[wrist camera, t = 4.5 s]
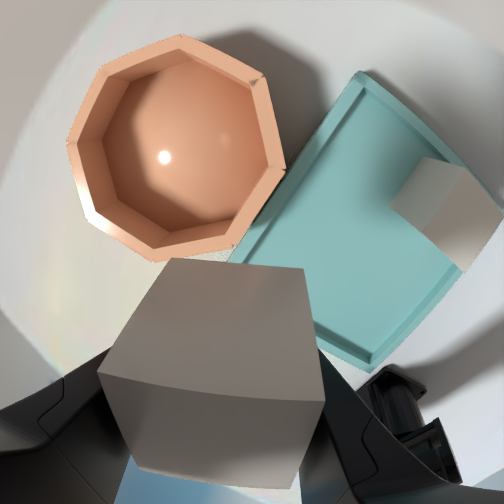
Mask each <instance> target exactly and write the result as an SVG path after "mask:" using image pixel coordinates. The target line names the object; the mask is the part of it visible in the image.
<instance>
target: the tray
mask: <svg viewBox="0 0 504 504" xmlns="http://www.w3.org/2000/svg"><path fill="white" fill-rule="evenodd" d="M423 156H424V157H428V158H432V159H436V160H440V161H443V162H447V163H451V164H454V165H458V166H461V167H465V168H466V169H467V170H468V171H469V172H470V173H471V175H472V176H473V177H474V178H475V179H476V180H477V182H478V183H479V184H480V185H481V186H482V188H483V189H484V190H485V191H486V192H487V194H488V195H489V196H490V197H491V199H492V200H493V201H494V202H495V204H496V205H497V206H498V208H499V209H500V210H501V212H502V213H503V214H504V212H503V210H502V209H501V208H500V206H499V205H498V204H497V202H496V201H495V200H494V198H493V197H492V196H491V195H490V193H489V192H488V191H487V190H486V188H485V187H484V186H483V185H482V184H481V182H480V181H479V180H478V179H477V178H476V176H475V175H474V174H473V173H472V172H471V171H470V170H469V168H468V167H467V166H466V165H465V164H464V163H463V162H462V161H461V160H460V158H459V157H458V156H457V155H456V154H455V153H454V152H453V151H452V150H451V149H450V148H449V147H448V146H447V145H446V144H445V143H444V142H443V141H442V140H441V139H440V138H439V137H438V136H437V135H436V134H435V133H434V132H433V131H432V130H431V129H430V128H429V127H428V126H427V125H426V124H425V123H424V122H423V121H422V120H420V119H419V118H418V117H417V116H416V115H415V114H414V113H413V112H412V111H410V110H409V109H408V108H407V107H406V106H405V105H404V104H402V103H401V102H400V101H399V100H398V99H396V98H395V97H394V96H393V95H392V94H390V93H389V92H388V91H387V90H385V89H384V88H383V87H382V86H380V85H379V84H378V83H377V82H375V81H374V80H373V79H371V78H370V77H369V76H367V75H366V74H365V73H363V72H362V71H361V70H360V71H358V72H357V73H355V75H354V76H353V77H352V79H351V80H350V82H349V83H348V84H347V86H346V87H345V89H344V90H343V92H342V93H341V94H340V96H339V97H338V99H337V100H336V102H335V103H334V104H333V106H332V107H331V109H330V110H329V112H328V113H327V115H326V116H325V117H324V119H323V120H322V122H321V123H320V125H319V126H318V127H317V129H316V130H315V132H314V133H313V135H312V136H311V138H310V139H309V141H308V142H307V143H306V145H305V146H304V148H303V149H302V151H301V152H300V154H299V155H298V157H297V158H296V159H295V161H294V162H293V164H292V165H291V167H290V168H289V170H288V171H287V173H286V174H285V176H284V177H283V179H282V180H281V181H280V183H279V184H278V186H277V187H276V189H275V190H274V192H273V193H272V195H271V196H270V198H269V199H268V201H267V202H266V204H265V205H264V207H263V208H262V210H261V211H260V213H259V214H258V216H257V217H256V218H255V220H254V221H253V223H252V224H251V226H250V227H249V229H248V230H247V232H246V233H245V235H244V236H243V238H242V239H241V241H240V242H239V244H238V245H237V247H236V248H235V250H234V251H233V253H232V254H231V256H230V257H229V259H228V260H227V262H230V263H242V264H254V265H267V266H279V267H292V268H304V273H305V279H306V284H307V289H308V295H309V300H310V306H311V312H312V318H313V323H314V329H315V335H316V341H317V347H319V348H321V349H323V350H325V351H326V352H328V353H330V354H332V355H334V356H336V357H338V358H340V359H342V360H344V361H346V362H348V363H350V364H352V365H354V366H356V367H358V368H360V369H361V370H363V371H365V372H367V373H369V374H370V373H371V372H372V371H373V370H374V369H375V368H376V367H377V366H378V365H379V364H380V363H382V362H383V361H384V360H385V359H386V358H387V357H388V356H389V355H390V354H391V353H392V352H393V351H394V350H395V349H396V348H397V347H398V346H399V345H400V344H401V343H402V342H403V341H404V340H405V339H406V338H407V337H408V336H409V335H410V334H411V333H412V332H413V330H414V329H415V328H416V327H417V326H418V325H419V324H420V323H421V322H422V321H423V320H424V319H425V317H426V316H427V315H428V314H429V313H430V312H431V311H432V310H433V308H434V307H435V306H436V305H437V304H438V303H439V302H440V300H441V299H442V298H443V297H444V296H445V294H446V293H447V292H448V291H449V290H450V288H451V287H452V286H453V285H454V283H455V282H456V281H457V280H458V278H459V277H460V276H461V275H462V273H463V271H462V270H460V269H459V268H458V267H457V266H456V265H455V264H454V263H453V262H452V261H451V260H450V259H449V258H447V257H446V256H445V255H444V254H443V253H442V252H441V251H440V250H438V249H437V248H436V247H435V246H434V245H433V244H432V243H430V242H429V241H428V240H427V239H426V238H425V237H424V236H422V235H421V234H420V233H419V232H418V231H417V230H416V229H415V228H413V227H412V226H411V225H410V224H409V223H408V222H406V221H405V220H404V219H403V218H402V217H401V216H399V215H398V214H397V213H396V212H395V211H393V210H392V209H391V208H390V207H389V205H390V203H391V202H392V201H393V199H394V198H395V196H396V195H397V194H398V192H399V191H400V189H401V188H402V187H403V185H404V184H405V182H406V181H407V179H408V178H409V176H410V175H411V174H412V172H413V171H414V169H415V168H416V166H417V165H418V163H419V162H420V160H421V159H422V157H423Z"/></svg>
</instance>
